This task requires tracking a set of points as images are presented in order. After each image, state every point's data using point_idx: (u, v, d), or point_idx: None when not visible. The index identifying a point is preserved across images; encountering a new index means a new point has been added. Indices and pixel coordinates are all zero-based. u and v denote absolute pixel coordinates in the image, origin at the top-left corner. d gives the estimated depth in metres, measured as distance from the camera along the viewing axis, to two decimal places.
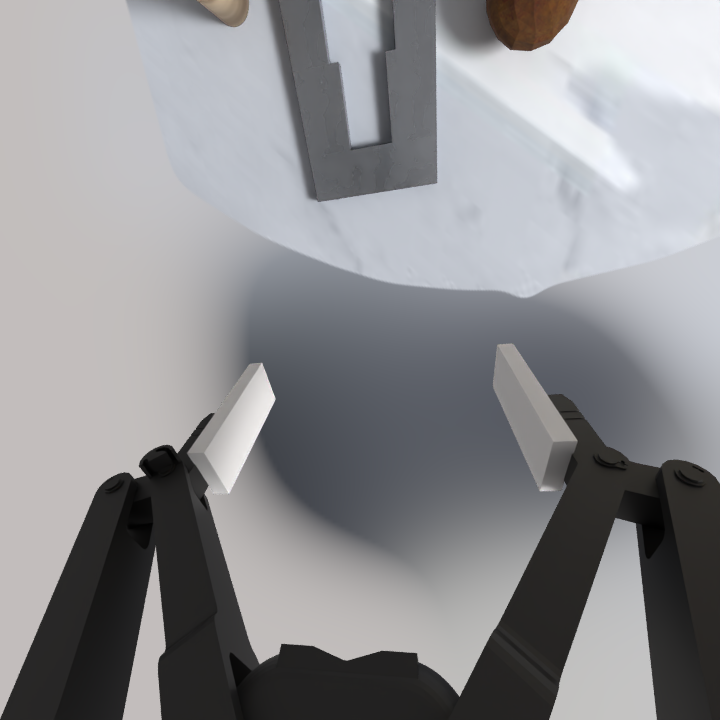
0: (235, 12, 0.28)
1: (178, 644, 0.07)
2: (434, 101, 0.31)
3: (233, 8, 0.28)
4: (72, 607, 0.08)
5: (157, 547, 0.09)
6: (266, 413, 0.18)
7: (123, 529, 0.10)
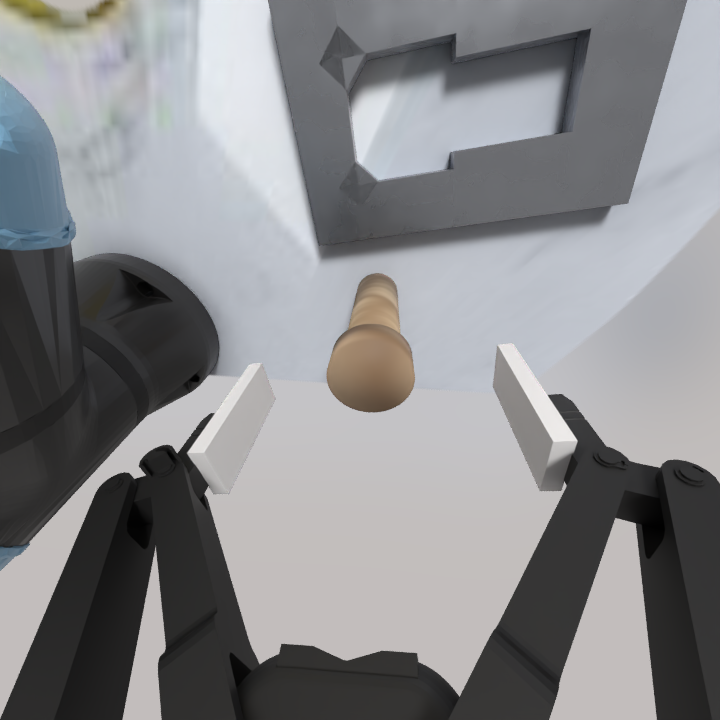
0: (394, 289, 0.25)
1: (178, 643, 0.07)
2: None
3: (393, 291, 0.25)
4: (72, 607, 0.08)
5: (157, 547, 0.09)
6: (266, 413, 0.18)
7: (123, 529, 0.10)
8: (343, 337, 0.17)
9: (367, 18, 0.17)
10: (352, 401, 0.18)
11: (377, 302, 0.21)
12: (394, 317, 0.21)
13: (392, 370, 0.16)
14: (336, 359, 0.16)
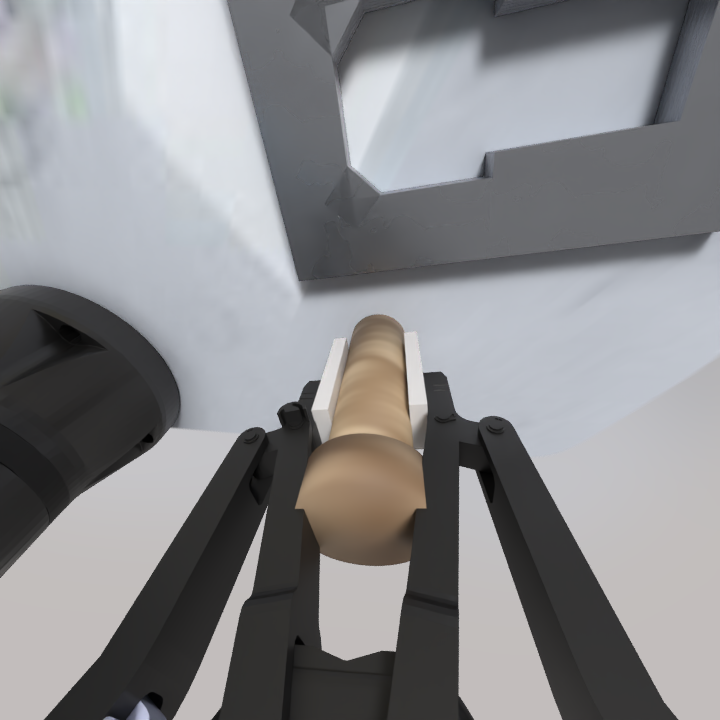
0: (401, 340, 0.19)
1: (260, 599, 0.07)
2: None
3: (400, 343, 0.18)
4: (192, 542, 0.09)
5: (271, 494, 0.10)
6: None
7: (246, 483, 0.11)
8: (320, 455, 0.10)
9: None
10: (336, 552, 0.11)
11: (377, 371, 0.15)
12: (403, 397, 0.14)
13: (401, 522, 0.10)
14: (307, 504, 0.10)
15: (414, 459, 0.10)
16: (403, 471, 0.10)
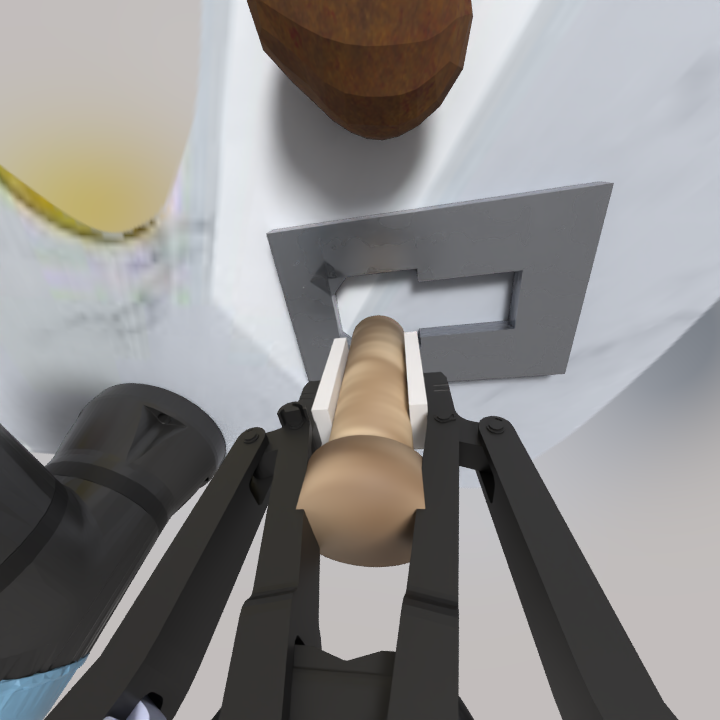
0: (401, 341, 0.19)
1: (260, 599, 0.07)
2: (486, 204, 0.19)
3: (400, 344, 0.18)
4: (193, 542, 0.09)
5: (271, 494, 0.10)
6: None
7: (247, 483, 0.11)
8: (321, 456, 0.10)
9: (347, 257, 0.22)
10: (336, 553, 0.11)
11: (378, 372, 0.15)
12: (403, 398, 0.14)
13: (401, 524, 0.10)
14: (307, 506, 0.10)
15: (414, 460, 0.10)
16: (403, 473, 0.10)
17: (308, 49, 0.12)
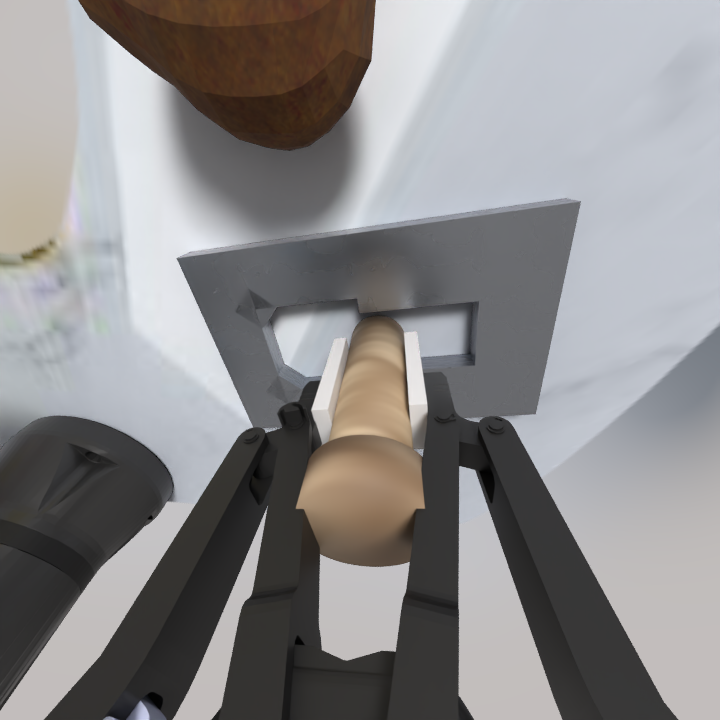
0: (401, 341, 0.19)
1: (260, 599, 0.07)
2: (430, 226, 0.16)
3: (400, 344, 0.18)
4: (192, 542, 0.09)
5: (271, 493, 0.10)
6: None
7: (247, 483, 0.11)
8: (321, 456, 0.10)
9: (274, 285, 0.19)
10: (336, 553, 0.11)
11: (377, 372, 0.15)
12: (403, 398, 0.14)
13: (400, 523, 0.10)
14: (307, 506, 0.10)
15: (414, 460, 0.10)
16: (403, 472, 0.10)
17: (141, 32, 0.09)
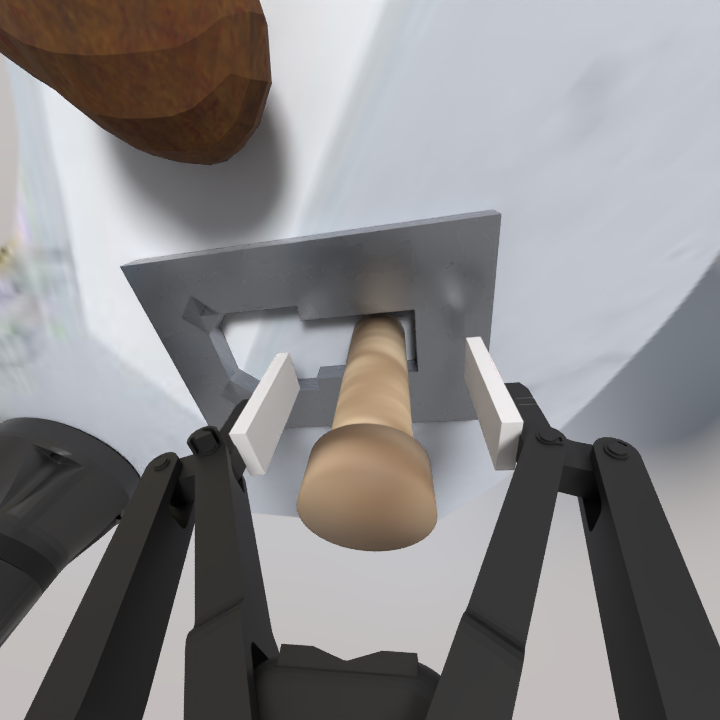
0: (401, 336, 0.19)
1: (205, 623, 0.07)
2: (359, 237, 0.17)
3: (400, 340, 0.18)
4: (114, 579, 0.09)
5: (195, 523, 0.10)
6: (293, 401, 0.18)
7: (166, 508, 0.11)
8: (324, 444, 0.11)
9: (216, 293, 0.19)
10: (339, 538, 0.11)
11: (378, 366, 0.15)
12: (402, 391, 0.14)
13: (400, 507, 0.10)
14: (311, 490, 0.10)
15: (413, 448, 0.11)
16: (403, 458, 0.10)
17: (28, 59, 0.09)
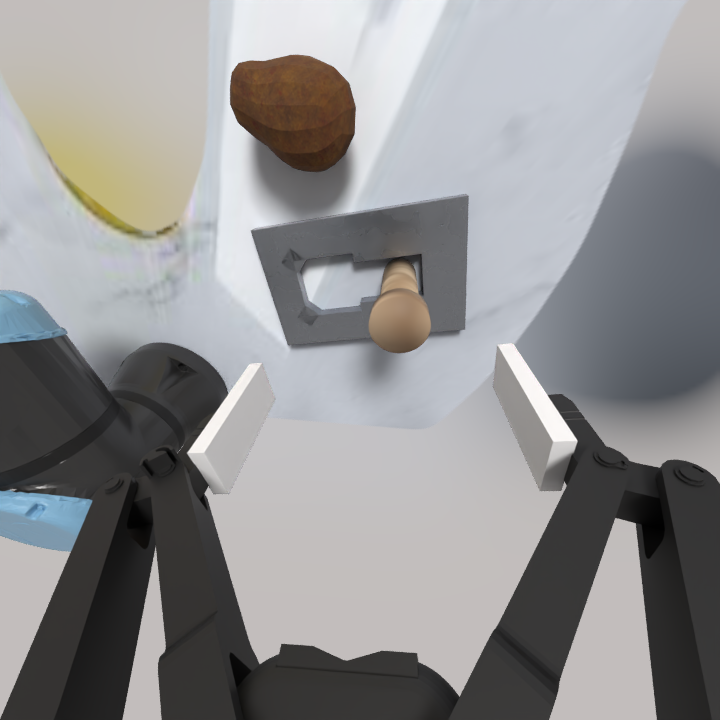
0: (413, 270, 0.32)
1: (178, 644, 0.07)
2: (390, 210, 0.30)
3: (413, 271, 0.32)
4: (71, 607, 0.08)
5: (157, 547, 0.09)
6: (266, 413, 0.18)
7: (123, 528, 0.10)
8: (380, 297, 0.24)
9: (305, 246, 0.33)
10: (386, 344, 0.25)
11: (402, 277, 0.28)
12: (415, 288, 0.28)
13: (415, 319, 0.23)
14: (376, 311, 0.23)
15: (420, 298, 0.24)
16: (416, 297, 0.23)
17: (262, 131, 0.23)
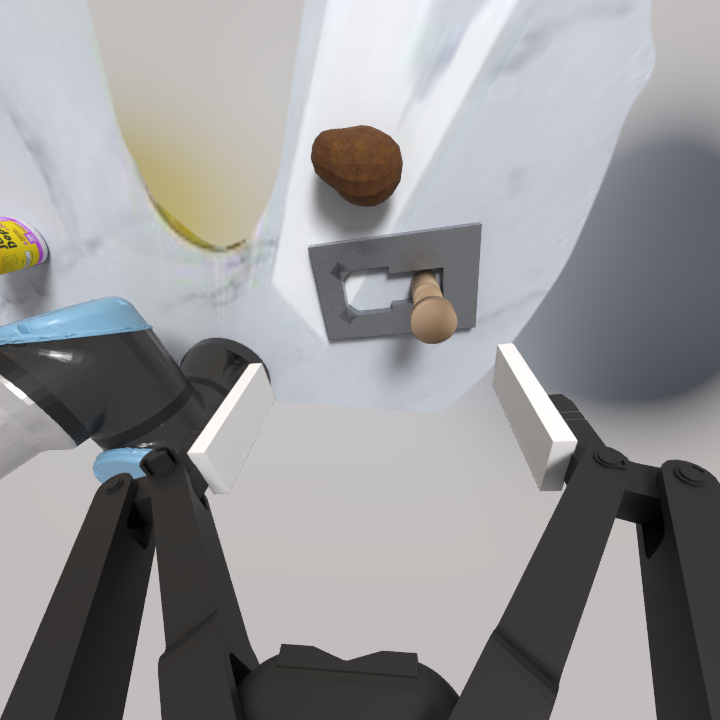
0: (436, 280, 0.41)
1: (178, 643, 0.07)
2: (421, 234, 0.38)
3: (436, 281, 0.40)
4: (72, 607, 0.08)
5: (157, 547, 0.09)
6: (266, 413, 0.18)
7: (123, 529, 0.10)
8: (419, 302, 0.33)
9: (350, 260, 0.41)
10: (422, 337, 0.33)
11: (431, 286, 0.37)
12: (441, 295, 0.36)
13: (446, 318, 0.32)
14: (418, 313, 0.32)
15: (449, 303, 0.33)
16: (446, 303, 0.32)
17: (336, 180, 0.31)
